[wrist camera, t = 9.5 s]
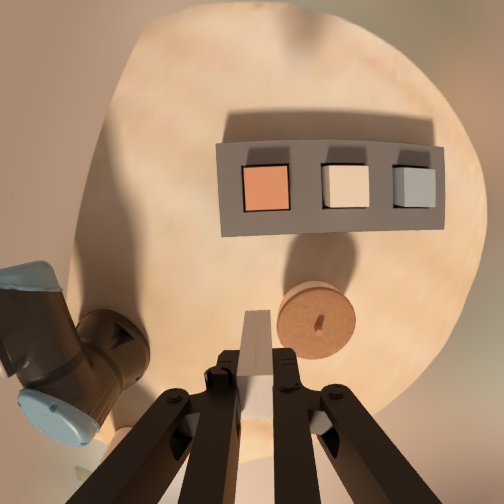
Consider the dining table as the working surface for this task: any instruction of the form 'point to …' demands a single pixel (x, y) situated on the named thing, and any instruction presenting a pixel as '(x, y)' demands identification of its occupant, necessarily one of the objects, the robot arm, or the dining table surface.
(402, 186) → the grey cube
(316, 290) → the lidded jar
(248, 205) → the key terracotta
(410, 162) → the console
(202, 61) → the dining table surface
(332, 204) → the key ivory
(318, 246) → the dining table surface
